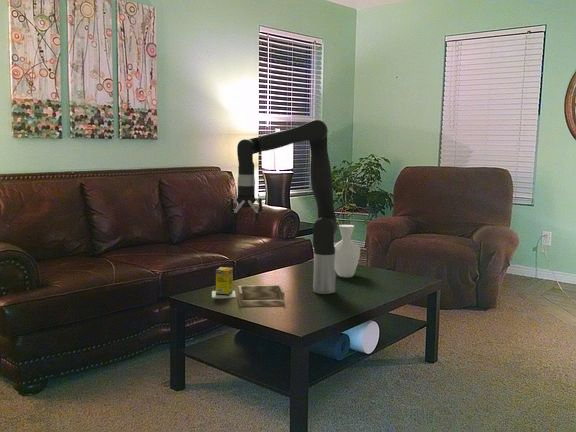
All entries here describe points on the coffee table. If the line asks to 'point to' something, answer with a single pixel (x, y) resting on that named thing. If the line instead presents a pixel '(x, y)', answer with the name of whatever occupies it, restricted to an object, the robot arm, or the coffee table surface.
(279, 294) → the crate
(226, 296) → the pad
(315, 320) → the coffee table surface
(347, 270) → the vase
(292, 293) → the coffee table surface
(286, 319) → the coffee table surface
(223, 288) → the supplement box
